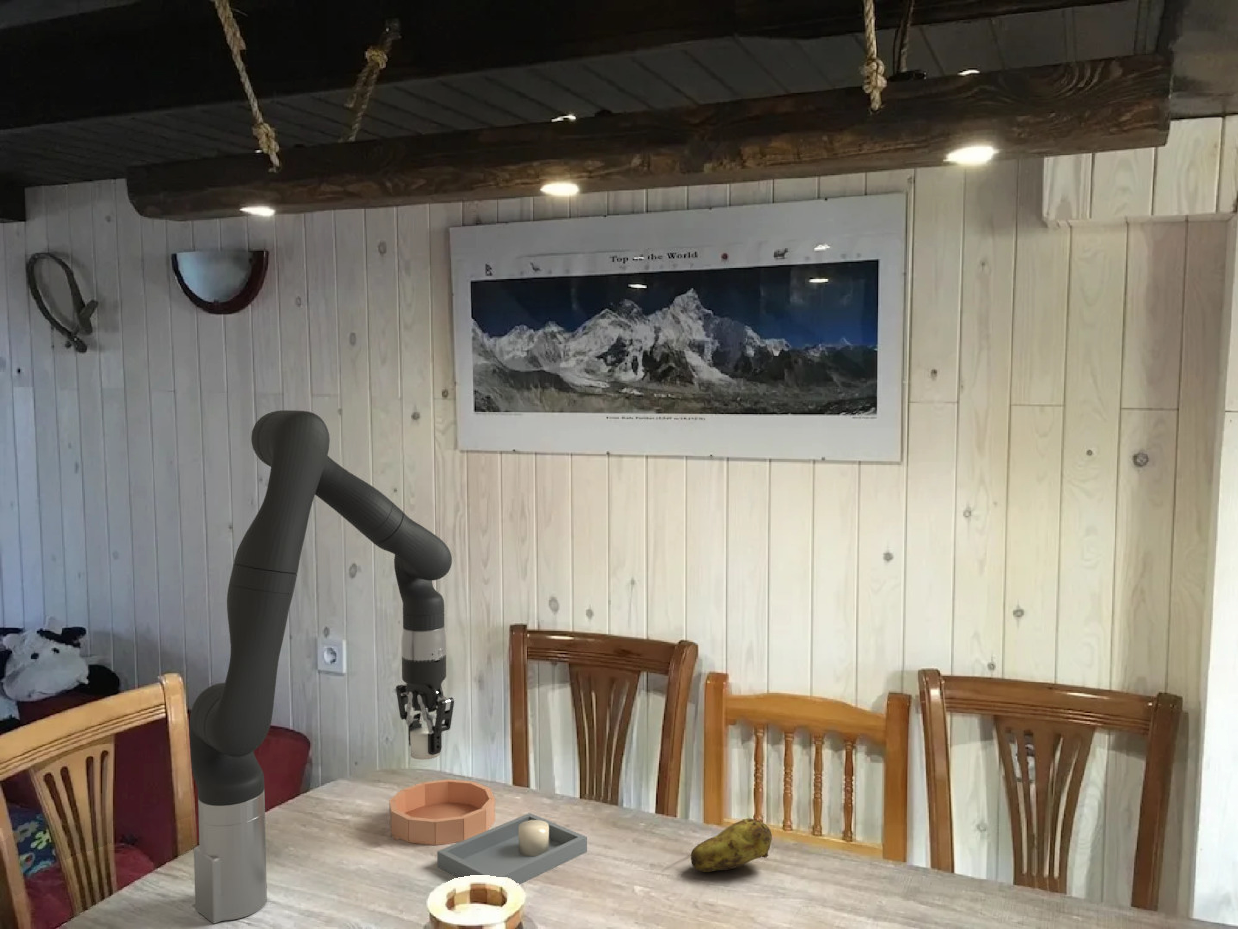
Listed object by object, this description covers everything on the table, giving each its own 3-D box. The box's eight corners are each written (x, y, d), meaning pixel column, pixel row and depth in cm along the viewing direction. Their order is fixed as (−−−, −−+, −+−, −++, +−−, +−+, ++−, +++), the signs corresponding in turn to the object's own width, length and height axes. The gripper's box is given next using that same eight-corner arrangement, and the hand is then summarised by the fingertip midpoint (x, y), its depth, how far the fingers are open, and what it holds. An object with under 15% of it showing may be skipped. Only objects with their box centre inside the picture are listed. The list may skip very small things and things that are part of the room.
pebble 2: (532, 859, 162) (532, 835, 162) (512, 850, 165) (512, 826, 165) (555, 849, 166) (555, 826, 165) (534, 840, 169) (534, 817, 169)
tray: (494, 902, 150) (494, 880, 150) (437, 872, 160) (437, 851, 159) (587, 857, 165) (587, 837, 165) (529, 832, 174) (529, 813, 174)
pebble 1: (421, 761, 169) (421, 738, 168) (404, 754, 172) (404, 731, 172) (445, 754, 172) (445, 731, 172) (428, 747, 176) (428, 725, 175)
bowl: (432, 860, 164) (432, 831, 163) (370, 828, 176) (369, 800, 176) (514, 825, 177) (514, 798, 177) (451, 798, 189) (451, 772, 189)
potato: (693, 854, 166) (693, 808, 166) (771, 860, 164) (771, 813, 164) (689, 878, 158) (689, 829, 157) (771, 884, 156) (772, 835, 155)
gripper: (381, 649, 173) (382, 745, 174) (431, 664, 163) (432, 766, 164) (417, 641, 179) (418, 734, 180) (467, 656, 169) (468, 754, 170)
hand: (425, 749), depth 172 cm, fingers closed on pebble 1, 5 cm apart
